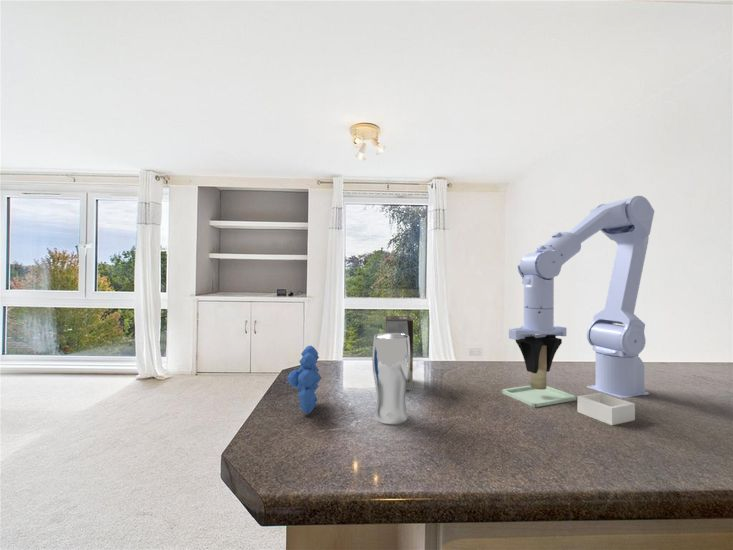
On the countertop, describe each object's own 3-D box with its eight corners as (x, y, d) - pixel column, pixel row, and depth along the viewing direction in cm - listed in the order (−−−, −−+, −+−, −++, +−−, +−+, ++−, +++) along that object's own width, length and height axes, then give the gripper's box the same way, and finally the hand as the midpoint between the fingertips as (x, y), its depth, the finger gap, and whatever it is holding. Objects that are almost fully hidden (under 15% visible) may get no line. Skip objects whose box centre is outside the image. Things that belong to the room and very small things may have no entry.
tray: (541, 388, 77) (541, 383, 77) (577, 402, 69) (577, 396, 69) (500, 395, 73) (500, 389, 73) (534, 410, 65) (534, 404, 65)
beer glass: (413, 413, 63) (413, 334, 63) (405, 428, 56) (406, 340, 56) (378, 408, 65) (378, 331, 65) (366, 422, 58) (367, 337, 59)
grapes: (290, 398, 70) (291, 341, 70) (322, 397, 70) (323, 341, 71) (280, 422, 58) (281, 354, 58) (319, 421, 59) (320, 353, 59)
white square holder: (599, 410, 65) (599, 392, 65) (634, 423, 59) (634, 403, 59) (577, 414, 63) (577, 396, 63) (611, 428, 57) (611, 408, 57)
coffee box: (413, 390, 75) (414, 320, 76) (385, 390, 76) (385, 320, 76) (409, 378, 85) (409, 315, 85) (384, 378, 85) (385, 315, 85)
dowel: (537, 384, 73) (537, 343, 73) (549, 388, 70) (549, 346, 70) (527, 386, 72) (527, 344, 72) (539, 390, 69) (539, 347, 69)
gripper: (547, 305, 78) (546, 363, 77) (498, 307, 72) (497, 369, 72) (575, 308, 71) (575, 371, 71) (524, 310, 66) (523, 378, 66)
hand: (538, 371), depth 71 cm, fingers closed on dowel, 3 cm apart
